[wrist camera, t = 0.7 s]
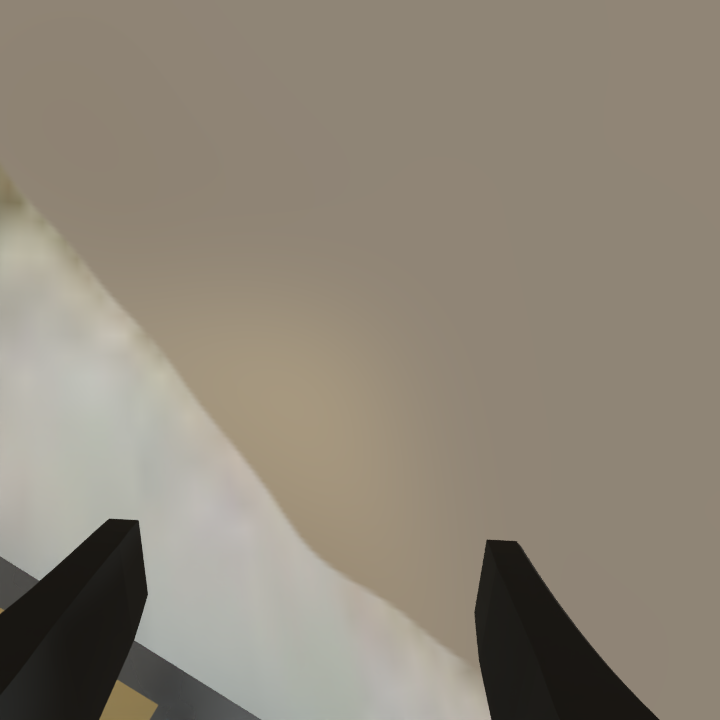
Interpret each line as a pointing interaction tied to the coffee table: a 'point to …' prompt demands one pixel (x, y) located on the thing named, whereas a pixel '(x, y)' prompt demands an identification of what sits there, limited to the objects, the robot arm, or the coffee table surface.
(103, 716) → the lever cap
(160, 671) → the hand plane
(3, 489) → the coffee table surface
